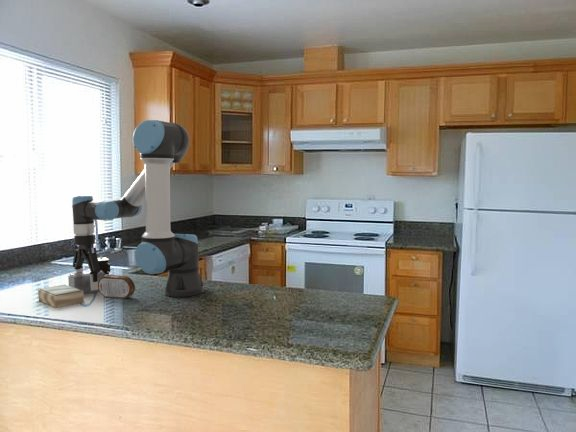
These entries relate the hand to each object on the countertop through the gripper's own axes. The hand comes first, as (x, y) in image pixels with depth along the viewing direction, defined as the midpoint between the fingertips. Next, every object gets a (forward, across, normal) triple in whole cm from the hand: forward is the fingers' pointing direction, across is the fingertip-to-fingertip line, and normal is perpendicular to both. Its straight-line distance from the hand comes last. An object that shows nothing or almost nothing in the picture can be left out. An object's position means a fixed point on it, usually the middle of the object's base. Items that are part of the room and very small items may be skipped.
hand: (87, 287), depth 192 cm
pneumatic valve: (+2, +9, -11) cm, 14 cm away
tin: (+2, -18, -3) cm, 18 cm away
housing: (+2, 0, 0) cm, 2 cm away
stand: (+2, -7, +13) cm, 15 cm away
